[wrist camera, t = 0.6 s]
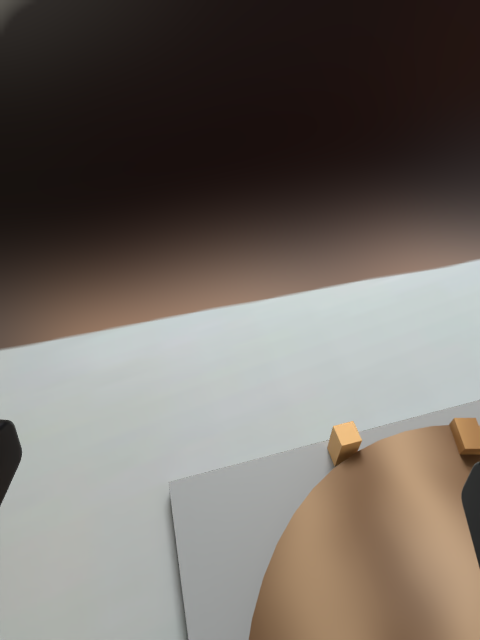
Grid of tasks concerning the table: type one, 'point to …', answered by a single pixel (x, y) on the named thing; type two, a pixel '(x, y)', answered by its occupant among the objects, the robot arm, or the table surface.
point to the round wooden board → (380, 547)
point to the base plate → (256, 520)
